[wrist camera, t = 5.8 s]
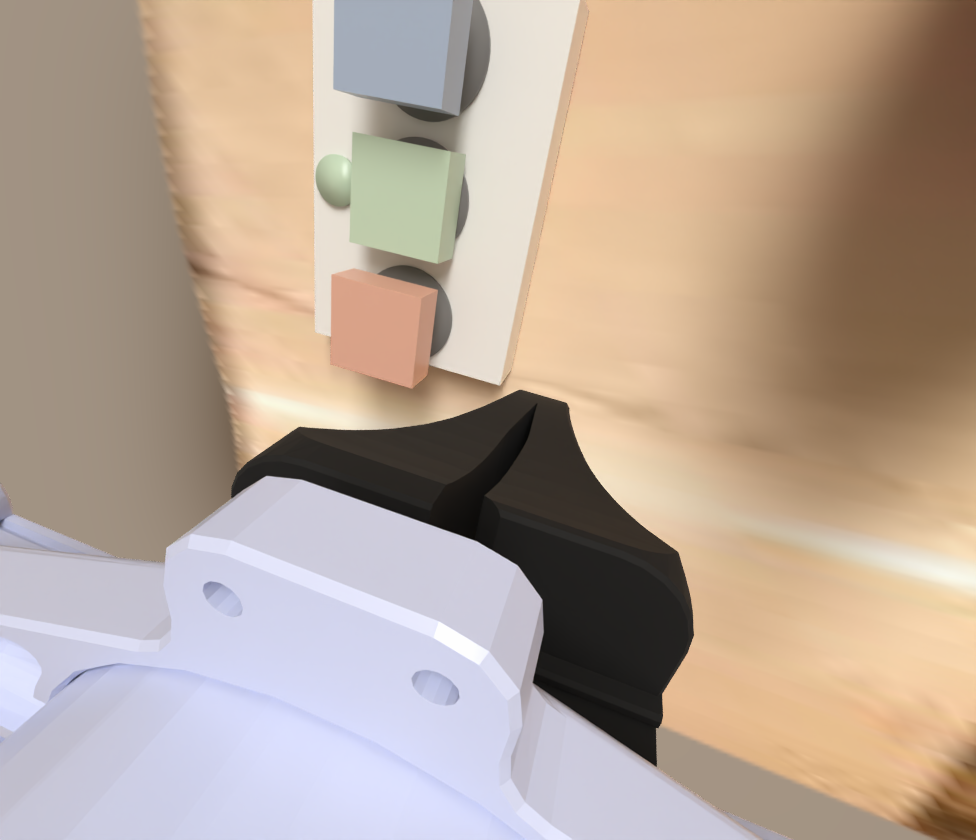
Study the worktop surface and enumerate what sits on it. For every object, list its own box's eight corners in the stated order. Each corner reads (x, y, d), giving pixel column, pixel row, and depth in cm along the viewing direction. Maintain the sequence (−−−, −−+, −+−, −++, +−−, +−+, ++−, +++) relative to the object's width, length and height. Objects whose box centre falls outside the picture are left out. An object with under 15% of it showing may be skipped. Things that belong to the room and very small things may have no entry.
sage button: (452, 258, 18) (437, 263, 17) (369, 238, 18) (349, 241, 17) (466, 154, 16) (450, 151, 15) (374, 136, 17) (352, 131, 15)
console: (511, 369, 22) (498, 387, 20) (339, 321, 23) (312, 333, 21) (589, 11, 15) (581, -13, 13) (345, -23, 17) (308, -50, 15)
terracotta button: (427, 375, 19) (411, 388, 18) (350, 352, 20) (330, 364, 18) (437, 290, 17) (421, 298, 16) (353, 268, 18) (331, 274, 17)
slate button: (459, 116, 15) (441, 109, 13) (359, 97, 15) (333, 89, 14) (477, -32, 13) (458, -56, 12) (364, -46, 14) (334, -71, 12)
